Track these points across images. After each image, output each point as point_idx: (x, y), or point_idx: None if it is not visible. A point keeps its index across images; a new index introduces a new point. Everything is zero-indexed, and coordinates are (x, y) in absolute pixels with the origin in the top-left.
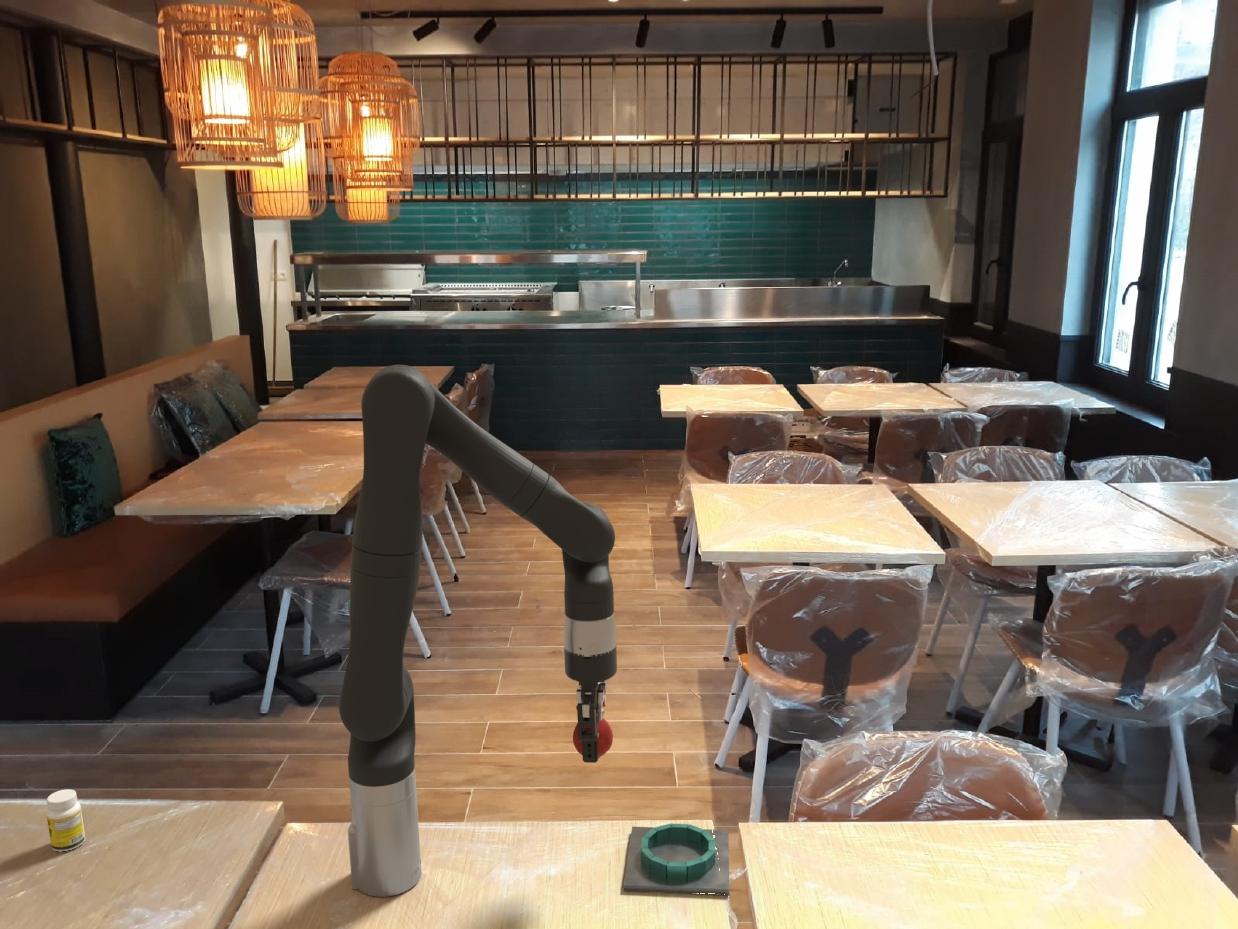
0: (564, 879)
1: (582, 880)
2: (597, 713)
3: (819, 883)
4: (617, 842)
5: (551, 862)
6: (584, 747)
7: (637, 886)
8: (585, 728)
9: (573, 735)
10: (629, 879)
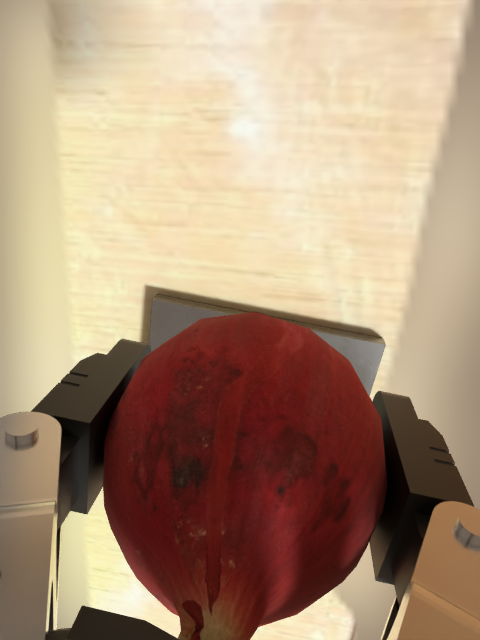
0: (206, 160)
1: (200, 205)
2: (402, 594)
3: None
4: (346, 300)
5: (282, 124)
6: (44, 398)
7: (151, 325)
8: (129, 477)
9: (227, 342)
10: (170, 313)
